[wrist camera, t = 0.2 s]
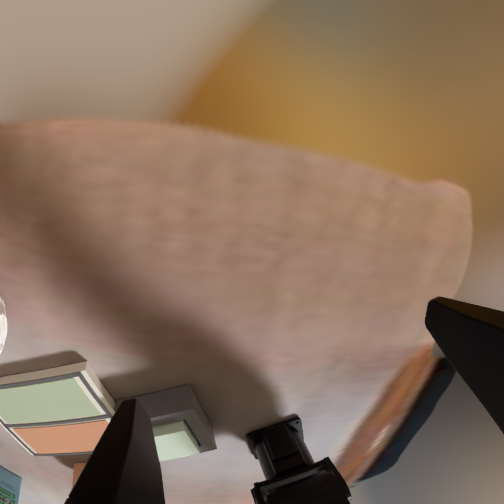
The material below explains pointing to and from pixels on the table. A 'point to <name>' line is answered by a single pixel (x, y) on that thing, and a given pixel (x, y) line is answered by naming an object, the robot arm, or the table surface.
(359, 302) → the table surface
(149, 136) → the table surface
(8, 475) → the gum box
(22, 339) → the table surface
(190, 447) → the button
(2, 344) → the white steamed bun
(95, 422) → the picture board
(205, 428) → the button housing
